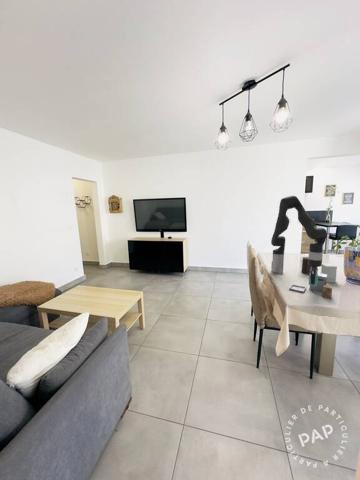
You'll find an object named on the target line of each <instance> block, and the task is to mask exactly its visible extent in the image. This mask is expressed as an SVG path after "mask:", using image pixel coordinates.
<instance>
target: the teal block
mask: <svg viewBox="0 0 360 480" xmlns="http://www.w3.org/2000/svg"><path fill="white" fill-rule="evenodd" d="M312 277H314V276H312ZM315 278H316V279H315V284H314V286H317V284H318V274H317V276H316V277H315ZM308 285H309V286H310V285H313V284H311V279H310V274H309V275H308Z"/></svg>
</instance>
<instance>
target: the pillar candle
mask: <svg viewBox="0 0 360 480" xmlns="http://www.w3.org/2000/svg"><path fill="white" fill-rule="evenodd" d="M301 261H302V262H301V264H302V265H301V273H302V274H304V275H308V276H309V274H310V268H311V267H312V266H310V265H308V256H303V257H302V260H301Z"/></svg>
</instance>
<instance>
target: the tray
mask: <svg viewBox="0 0 360 480" xmlns="http://www.w3.org/2000/svg"><path fill="white" fill-rule="evenodd" d="M288 290H289V291H293V292H298V293H302V294H304V293H305V291H306V290H307V286H302V285H297V284H291V285H290V286H289V287H288Z"/></svg>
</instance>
